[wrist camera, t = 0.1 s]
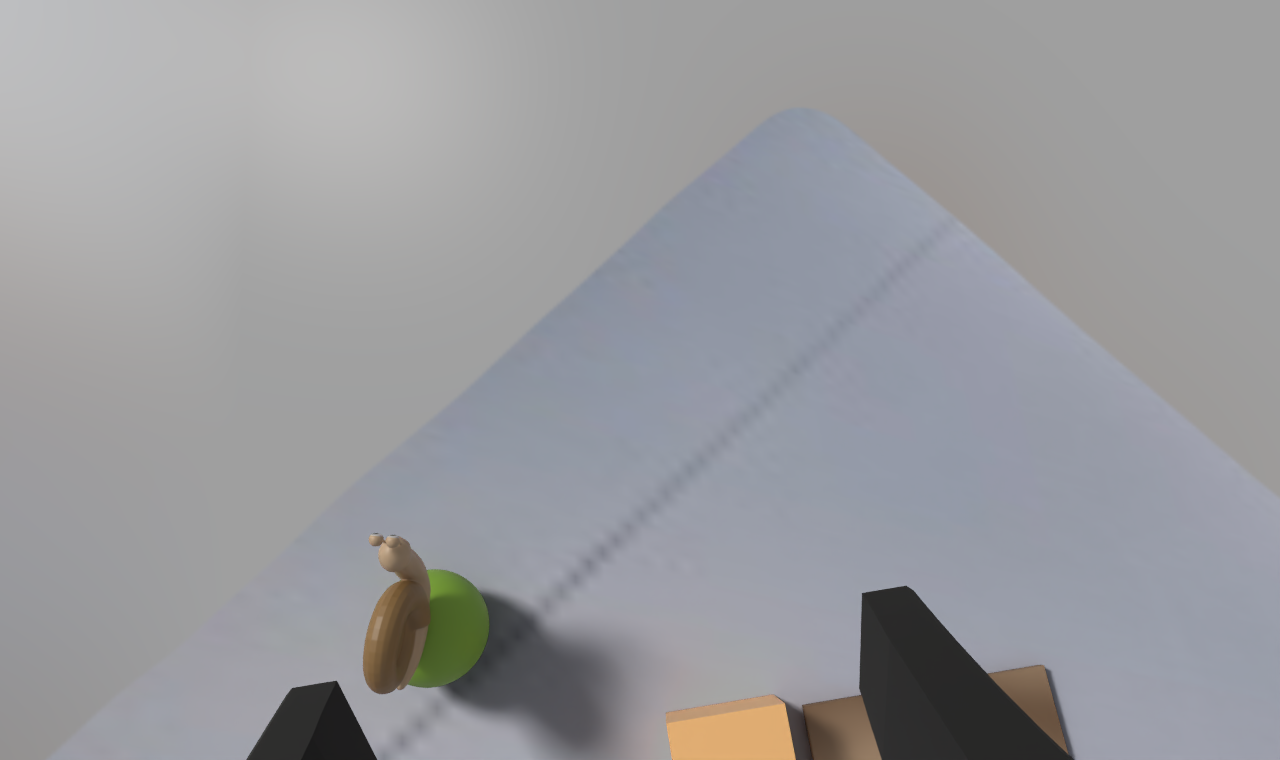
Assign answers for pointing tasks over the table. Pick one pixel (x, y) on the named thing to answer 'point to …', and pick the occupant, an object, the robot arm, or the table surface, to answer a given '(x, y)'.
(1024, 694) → the post board
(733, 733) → the cardboard-colored cube
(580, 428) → the table surface
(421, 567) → the snail figurine
